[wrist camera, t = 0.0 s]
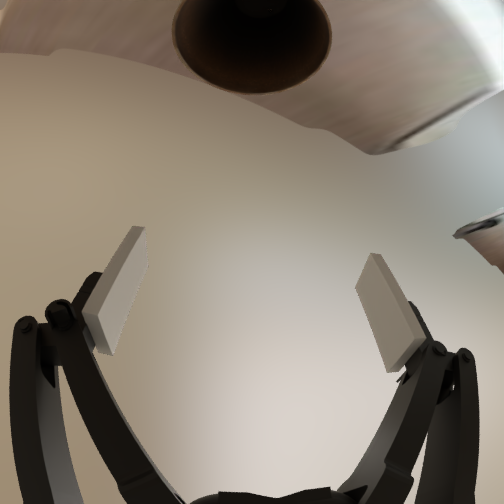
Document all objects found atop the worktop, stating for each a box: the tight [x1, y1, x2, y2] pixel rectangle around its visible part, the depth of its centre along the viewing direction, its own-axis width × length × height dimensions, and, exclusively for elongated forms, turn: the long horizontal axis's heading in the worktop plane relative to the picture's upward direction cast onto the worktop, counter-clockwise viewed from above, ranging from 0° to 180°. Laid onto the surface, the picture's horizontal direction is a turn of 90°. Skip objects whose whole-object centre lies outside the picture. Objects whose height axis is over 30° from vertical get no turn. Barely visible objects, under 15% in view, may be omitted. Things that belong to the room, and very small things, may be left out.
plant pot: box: [172, 0, 332, 95], centre depth 23 cm, size 15×15×16 cm
